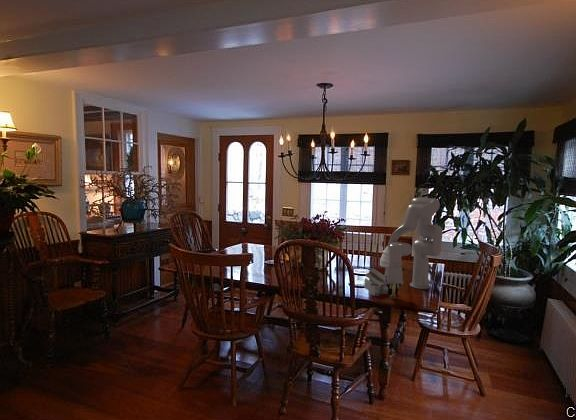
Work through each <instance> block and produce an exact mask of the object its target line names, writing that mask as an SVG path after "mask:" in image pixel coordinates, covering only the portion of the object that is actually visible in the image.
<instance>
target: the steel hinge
mask: <svg viewBox="0 0 576 420" xmlns="http://www.w3.org/2000/svg"><path fill="white" fill-rule="evenodd" d="M364 289H366V290H367V292H368V295H370V296H374V297H379V296H380V295H389V294H388V287H387V286H386V285H384V284H378V283H372V282H371V281H370V279H369V278H367V277H365V278H364Z"/></svg>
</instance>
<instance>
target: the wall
mask: <svg viewBox="0 0 576 420" xmlns="http://www.w3.org/2000/svg"><path fill="white" fill-rule="evenodd" d="M364 276H365V278H367V279H368V280H369V281H371V282H372V283H378V284H383V282H384V276H385V274H382V272H380V271H378V270H377V269H375V268H374V267H372V268H371V269H370V270H369V271H368V272H367V273H366V274H365V275H364ZM387 284H388V283H387Z"/></svg>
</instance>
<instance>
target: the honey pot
mask: <svg viewBox="0 0 576 420" xmlns="http://www.w3.org/2000/svg"><path fill="white" fill-rule="evenodd" d="M387 244H389V242H388V243H387ZM388 257H389V250H388V245H386V247H385V248H384V250H382V254H381V257H380V259H379V266H380V267H382V268H386V267H387V266H388Z"/></svg>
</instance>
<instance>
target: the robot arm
mask: <svg viewBox="0 0 576 420" xmlns="http://www.w3.org/2000/svg"><path fill="white" fill-rule="evenodd" d="M440 206H441V204H440V200H439V199H438V198H430V197H415V198H413V199H412V200H411V203H410V204H409V205H408V206H407V208H406V212H405V214H404V217H403V221H402V223H401V225H400V226H399V227H398V228H396V229H395V230H394V231H393V232H392V233H391V235H390V238H389V240H388V243H389V244H388V243H387V244H388V245H387V246H388V250H389V257H388V266H387V267H385V271H384V282H383V284H384V285H386V286H387V287H388V294H387V295H389V296H390V295H392V289H391V286H392V284H396V294H395V296H398V293H399V289H400V287H401V286H403V284H405V283H404V280H403V275H404V274H403V267H402V265H404V263H403V262H402V257H403V256H406V257H407V256H409V255H411V254H412V252H413V267H412V268H413V269H412V278H411V279H412V281H411V282H409V286H410V287H412V288H414V289H419V290H428V289H430V284H432V285H433V284H435V281H434V280H430V279H429V268H430V267H429V266H430V265H429V263H430V261H429V258H428V256H430V257H439V256H440V255H441V252H442V245H443V244H442V243H443V228H442V227H441V226H440V225H439V224H438V225H437V224H432V221H433V220H432V219H433V218H432V217H433V215H435V214H436V213H437V212H438V211H439V209H440ZM414 231H416V235H417V237H419V238H423V239H416V240H415V241H414V242H413V244H412V245H411V244H410V243H407V242H401V241H398V239H400V237H402V236H403V235H406V234H409V233H411V232H414ZM427 239H428V240H427ZM429 239H430V240H429ZM387 283H388V284H387Z"/></svg>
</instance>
